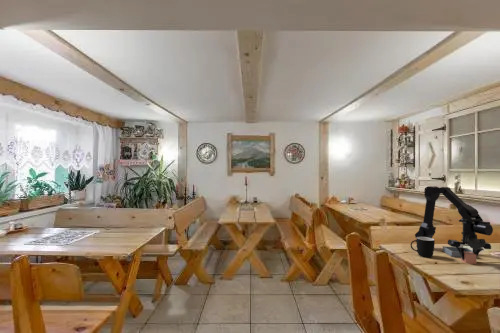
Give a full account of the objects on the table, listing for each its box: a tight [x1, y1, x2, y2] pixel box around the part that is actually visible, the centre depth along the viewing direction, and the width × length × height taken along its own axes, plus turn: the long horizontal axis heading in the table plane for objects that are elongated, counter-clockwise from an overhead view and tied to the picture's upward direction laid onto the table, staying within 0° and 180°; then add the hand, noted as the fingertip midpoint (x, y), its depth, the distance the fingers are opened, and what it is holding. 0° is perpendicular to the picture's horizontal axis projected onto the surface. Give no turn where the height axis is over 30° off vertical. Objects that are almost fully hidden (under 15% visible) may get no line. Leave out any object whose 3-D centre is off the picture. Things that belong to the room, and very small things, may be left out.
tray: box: [442, 246, 478, 260], centre depth 175 cm, size 13×12×3 cm
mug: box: [410, 237, 436, 259], centre depth 172 cm, size 12×9×10 cm
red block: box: [460, 252, 477, 265], centre depth 162 cm, size 5×5×5 cm
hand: (468, 260), depth 162 cm, fingers closed on red block, 5 cm apart
